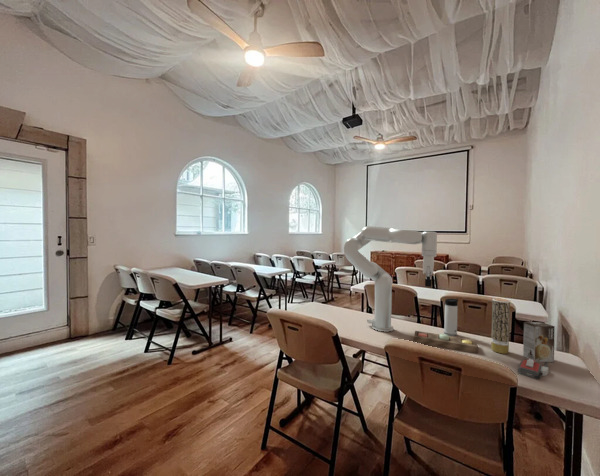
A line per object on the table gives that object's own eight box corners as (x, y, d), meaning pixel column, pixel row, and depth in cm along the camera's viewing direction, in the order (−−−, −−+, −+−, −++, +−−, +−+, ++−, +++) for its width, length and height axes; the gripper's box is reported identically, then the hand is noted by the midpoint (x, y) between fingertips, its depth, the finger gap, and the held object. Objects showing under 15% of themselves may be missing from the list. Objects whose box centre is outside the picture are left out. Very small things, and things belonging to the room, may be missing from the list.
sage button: (439, 341, 139) (439, 335, 139) (439, 338, 143) (439, 333, 143) (449, 343, 137) (449, 337, 137) (448, 340, 141) (448, 334, 141)
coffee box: (541, 355, 128) (542, 321, 128) (554, 362, 122) (555, 326, 122) (522, 355, 128) (523, 321, 128) (534, 362, 121) (535, 326, 121)
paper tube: (511, 355, 129) (513, 301, 128) (495, 353, 130) (497, 301, 129) (503, 349, 135) (505, 298, 135) (488, 347, 136) (489, 297, 136)
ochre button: (462, 348, 135) (462, 342, 135) (461, 345, 139) (461, 339, 139) (472, 350, 133) (472, 343, 133) (471, 346, 137) (471, 340, 137)
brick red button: (417, 340, 144) (418, 335, 143) (418, 338, 147) (418, 332, 147) (427, 342, 142) (427, 336, 142) (427, 339, 146) (427, 333, 146)
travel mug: (459, 336, 151) (460, 300, 151) (446, 335, 152) (447, 299, 152) (455, 332, 157) (456, 298, 157) (442, 331, 158) (443, 297, 158)
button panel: (413, 342, 142) (414, 336, 142) (414, 336, 151) (415, 330, 151) (477, 353, 130) (478, 347, 130) (474, 345, 139) (475, 339, 139)
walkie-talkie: (545, 384, 104) (550, 366, 118) (546, 372, 104) (550, 356, 118) (516, 375, 110) (523, 360, 124) (517, 364, 110) (524, 350, 124)
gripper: (422, 252, 161) (421, 283, 162) (421, 254, 148) (420, 287, 148) (436, 253, 158) (435, 284, 158) (436, 254, 145) (435, 289, 145)
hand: (428, 286), depth 153 cm, fingers closed
